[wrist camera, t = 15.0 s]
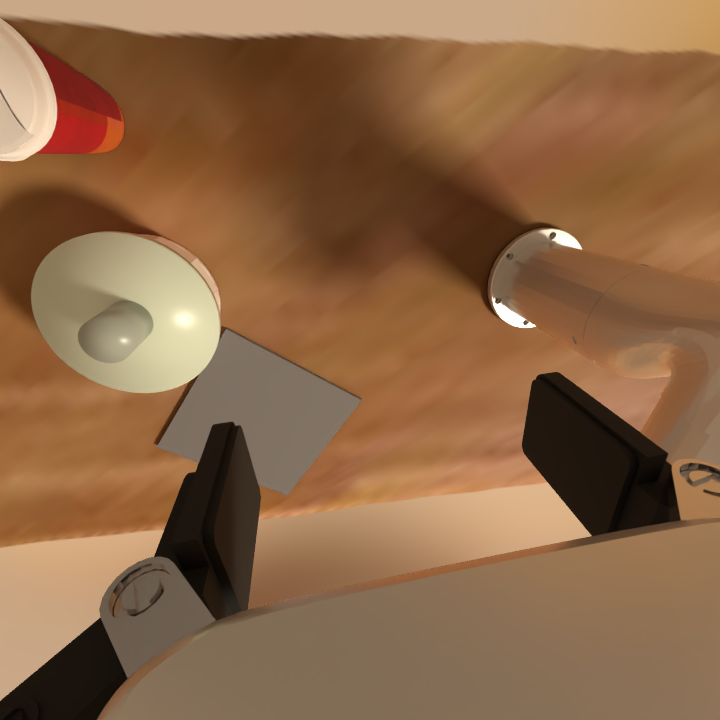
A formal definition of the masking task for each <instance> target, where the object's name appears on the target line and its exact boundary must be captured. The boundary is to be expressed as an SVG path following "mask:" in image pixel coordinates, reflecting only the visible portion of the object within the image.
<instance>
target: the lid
mask: <svg viewBox="0 0 720 720" xmlns="http://www.w3.org/2000/svg"><path fill="white" fill-rule="evenodd" d="M31 303H32V310H33V314H34V318H35V321H36V323H37V326H38V328H39V330H40V332H41V334H42V335H43V337H44V339H45V340H46V342H47V343H48V345H49V346H50V347H51V349H52V350H53V351H54V352H55V353H56V354H57V355H58V356H59V357H60V358H61V359H62V360H63V361H64V362H65V363H66V364H67V365H69V366H70V367H71V368H73V369H74V370H75V371H77V372H78V373H80V374H82V375H83V376H85V377H87V378H88V379H90V380H93V381H95V382H97V383H99V384H101V385H104V386H107V387H110V388H114V389H118V390H122V391H128V392H135V393H153V392H161V391H166V390H170V389H173V388H176V387H179V386H181V385H183V384H185V383H187V382H189V381H190V380H192V379H194V378H195V377H196V376H197V375H199V374H200V373H201V372H202V371H203V370H204V369H205V367H206V366H207V365H208V363H209V362H210V360H211V359H212V357H213V355H214V353H215V351H216V348H217V346H218V342H219V339H220V332H221V318H220V312H219V308H218V304H217V301H216V299H215V296H214V294H213V292H212V290H211V288H210V287H209V285H208V283H207V282H206V280H205V279H204V277H203V276H202V275H201V274H200V272H199V271H198V270H197V269H196V268H195V267H194V266H193V265H192V264H191V263H190V262H189V261H188V260H186V259H185V258H184V257H183V256H181V255H180V254H179V253H177V252H176V251H174V250H173V249H171V248H170V247H168V246H166V245H164V244H162V243H160V242H158V241H156V240H153V239H150V238H148V237H145V236H141V235H137V234H133V233H128V232H120V231H102V232H95V233H90V234H86V235H82V236H78V237H75V238H72V239H70V240H68V241H66V242H63V243H62V244H60V245H59V246H57V247H56V248H54V249H53V250H52V251H51V252H50V253H49V254H48V255H47V256H46V257H45V258H44V259H43V261H42V262H41V264H40V265H39V267H38V269H37V271H36V273H35V275H34V279H33V283H32V290H31Z"/></svg>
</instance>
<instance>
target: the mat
mask: <svg viewBox="0 0 720 720" xmlns="http://www.w3.org/2000/svg"><path fill="white" fill-rule="evenodd" d="M360 402H361V398H359V397H358V396H356V395H354V394H352V393H350V392H348V391H346V390H344V389H342V388H340V387H339V386H337V385H335V384H333V383H331V382H329V381H327V380H325V379H323V378H321V377H320V376H318V375H316V374H314V373H312V372H310V371H308V370H306V369H304V368H302V367H301V366H299V365H297V364H295V363H293V362H291V361H289V360H287V359H285V358H283V357H282V356H280V355H278V354H276V353H274V352H272V351H270V350H268V349H266V348H264V347H263V346H261V345H259V344H257V343H255V342H253V341H251V340H249V339H247V338H246V337H244V336H242V335H240V334H238V333H236V332H234V331H232V330H230V329H228V328H226V330H225V331H224V333H223V335H222V336H221V338H220V340H219V342H218V346H217V348H216V351H215V353H214V355H213V357H212V359H211V360H210V362H209V363H208V365H207V366H206V367H205V369H204V370H203V371H202V372H201V373H200V374H199V376H198V377H197V379H196V381H195V382H194V384H193V386H192V388H191V389H190V391H189V393H188V394H187V396H186V398H185V399H184V401H183V403H182V405H181V406H180V408H179V410H178V411H177V413H176V415H175V416H174V418H173V420H172V422H171V423H170V425H169V427H168V428H167V430H166V432H165V434H164V435H163V437H162V439H161V440H160V442H159V444H158V446H157V447H158V448H161V449H163V450H166V451H169V452H172V453H174V454H177V455H180V456H182V457H185V458H188V459H191V460H193V461H196V462H199V461H200V458H201V456H202V453H203V450H204V447H205V444H206V442H207V439H208V436H209V433H210V430H211V427H212V425H214V424H219V423H225V422H234V424H235V426H237V425H241V427H242V429H243V433H244V436H245V440H246V443H247V447H248V450H249V454H250V457H251V461H252V464H253V468H254V471H255V475H256V478H257V482H258V485H261V486H264V487H266V488H269V489H272V490H275V491H277V492H280V493H283V494H285V495H288V494H289V493H290V492H291V490H292V489H293V488H294V486H295V485H296V484H297V483H298V481H299V480H300V479H301V477H302V476H303V475H304V474H305V472H306V471H307V470H308V468H309V467H310V466H311V465H312V463H313V462H314V461H315V459H316V458H317V457H318V456H319V454H320V453H321V452H322V451H323V449H324V448H325V447H326V445H327V444H328V443H329V442H330V440H331V439H332V438H333V436H334V435H335V434H336V433H337V431H338V430H339V429H340V427H341V426H342V425H343V424H344V422H345V421H346V420H347V418H348V417H349V416H350V415H351V413H352V412H353V411H354V409H355V408H356V407H357V406H358V404H359V403H360Z"/></svg>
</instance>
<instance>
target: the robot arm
mask: <svg viewBox="0 0 720 720" xmlns="http://www.w3.org/2000/svg"><path fill="white" fill-rule="evenodd" d="M507 254H508V256H507ZM487 291H488V299H489V302H490V305H491V308H492V309H493V311H494V312H495V314H496V315H497V316H498V317H499V318H500V319H501V320H503V321H504V322H506V323H507V324H510V325H512V326H515V327H520V328H531V327H538V328H539V329H541V330H543V331H544V332H546V333H548V334H549V335H551V336H552V337H554V338H556V339H557V340H559V341H561V342H562V343H564V344H565V345H567V346H569V347H570V348H572V349H574V350H575V351H577V352H578V353H580V354H582V355H583V356H585V357H587V358H588V359H590V360H591V361H593V362H595V363H596V364H598V365H600V366H601V367H603V368H604V369H606V370H608V371H610V372H612V373H615V374H618V375H621V376H625V377H631V378H658V377H667V376H670V379H669V381H668V383H667V385H666V387H665V389H664V391H663V392H662V394H661V398H660V400H659V402H658V403H657V405H656V407H655V409H654V410H653V412H652V414H651V415H650V417H649V419H648V420H647V422H646V424H645V425H644V427H643V429H642V431H641V432H639V431H637V430H636V429H635V428H633V427H632V426H631V425H629V424H628V423H627V422H625V421H624V420H623V419H621V418H620V417H619V416H617V415H616V414H614V413H613V412H612V411H610V410H609V409H608V408H606V407H605V406H604V405H602V404H601V403H600V402H598V401H597V400H595V399H594V398H593V397H591V396H590V395H589V394H587V393H586V392H585V391H583V390H582V389H581V388H579V387H578V386H577V385H575V384H574V383H572V382H571V381H570V380H568V379H567V378H566V377H564V376H563V375H562V374H560V373H558V372H553V373H546V374H540V375H538V376H537V378H536V380H533V382H532V385H531V391H530V397H529V404H528V410H527V416H526V422H525V429H524V435H523V441H522V448H523V452H524V454H525V455H526V456H527V458H528V459H529V460H530V461H531V463H532V464H533V465H534V466H535V467H536V469H537V470H538V471H539V472H540V473H541V475H542V476H543V477H544V478H545V480H546V481H547V482H548V483H549V484H550V486H551V487H552V488H553V489H554V490H555V491H556V493H557V494H558V495H559V496H560V498H561V499H562V500H563V501H564V502H565V504H566V505H567V506H568V507H569V509H570V510H571V511H572V512H573V513H574V515H575V516H576V517H577V518H578V520H579V521H580V522H581V523H582V524H583V525H584V527H585V528H586V529H587V530H588V531H589V533H590V534H591V535H592V536H591V537H586V538H581V539H576V540H571V541H566V542H560V543H556V544H550V545H545V546H540V547H535V548H530V549H525V550H520V551H515V552H510V553H505V554H500V555H495V556H490V557H485V558H481V559H476V560H471V561H466V562H461V563H456V564H451V565H446V566H441V567H437V568H431V569H427V570H422V571H417V572H412V573H407V574H402V575H398V576H393V577H388V578H383V579H378V580H374V581H369V582H364V583H359V584H355V585H350V586H345V587H340V588H336V589H332V590H327V591H322V592H318V593H313V594H309V595H305V596H300V597H296V598H291V599H287V600H282V601H278V602H274V603H270V604H267V605H263V606H260V607H256V608H252V609H249V610H247V609H248V602H249V593H250V585H251V577H252V568H253V560H254V552H255V543H256V534H257V526H258V518H259V510H260V501H261V496H260V489H259V485H258V482H257V478H256V475H255V471H254V468H253V464H252V461H251V457H250V454H249V450H248V447H247V443H246V440H245V436H244V433H243V429H242V427H241V425H237V426H235V424H234V422H225V423H219V424H214V425H212V427H211V430H210V433H209V436H208V439H207V442H206V444H205V447H204V450H203V453H202V456H201V458H200V461H199V464H198V467H197V470H196V472H193V473H188V474H187V475H186V476H185V478H184V480H183V483H182V486H181V488H180V491H179V493H178V496H177V499H176V501H175V504H174V506H173V509H172V512H171V514H170V517H169V519H168V522H167V525H166V527H165V530H164V533H163V535H162V538H161V540H160V543H159V545H158V548H157V551H156V553H155V556H154V557H151V558H147V559H145V560H142V561H139V562H137V563H136V564H134V565H132V566H131V567H129V568H127V569H126V570H125V571H124V572H123V573H121V574H120V575H119V576H118V577H117V578H116V579H115V580H114V581H113V583H112V584H111V585H110V586H109V587H108V589H107V591H106V593H105V594H104V596H103V598H102V601H101V606H100V616H101V618H99V619H98V620H97V621H96V622H95V623H93V624H92V625H91V626H90V627H89V628H87V629H86V630H85V631H84V632H83V633H81V634H80V635H79V636H78V637H77V638H75V639H74V640H73V641H72V642H71V643H69V644H68V645H67V646H66V647H65V648H63V649H62V650H61V651H60V652H59V653H57V654H56V655H55V656H54V657H53V658H51V659H50V660H49V661H48V662H47V663H45V664H44V665H43V666H42V667H41V668H39V669H38V670H37V671H36V672H34V673H33V674H32V675H31V676H30V677H28V678H27V679H26V680H25V681H24V682H23V683H21V684H20V685H19V686H18V687H16V688H15V689H14V690H13V691H12V692H10V693H9V694H8V695H7V696H6V697H4V698H3V699H2V700H1V701H0V720H720V281H715V280H710V279H705V278H700V277H695V276H690V275H685V274H681V273H677V272H673V271H669V270H665V269H660V268H656V267H652V266H648V265H644V264H640V263H635V262H631V261H627V260H623V259H619V258H615V257H611V256H607V255H602V254H598V253H594V252H590V251H586V250H582V247H581V245H580V244H579V242H578V241H577V240H576V238H575V237H573V236H572V235H571V234H569V233H568V232H565V231H563V230H560V229H555V228H539V229H533V230H531V231H528V232H526V233H524V234H522V235H520V236H519V237H517V238H515V239H514V240H513V241H512V242H511V243H509V244H508V245H507V246H506V247H505V249H504V250H503V251H502V252H501V253H500V255H499V256H498V258H497V259H496V261H495V263H494V265H493V267H492V270H491V272H490V276H489V280H488V290H487ZM495 299H496V300H495Z"/></svg>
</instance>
